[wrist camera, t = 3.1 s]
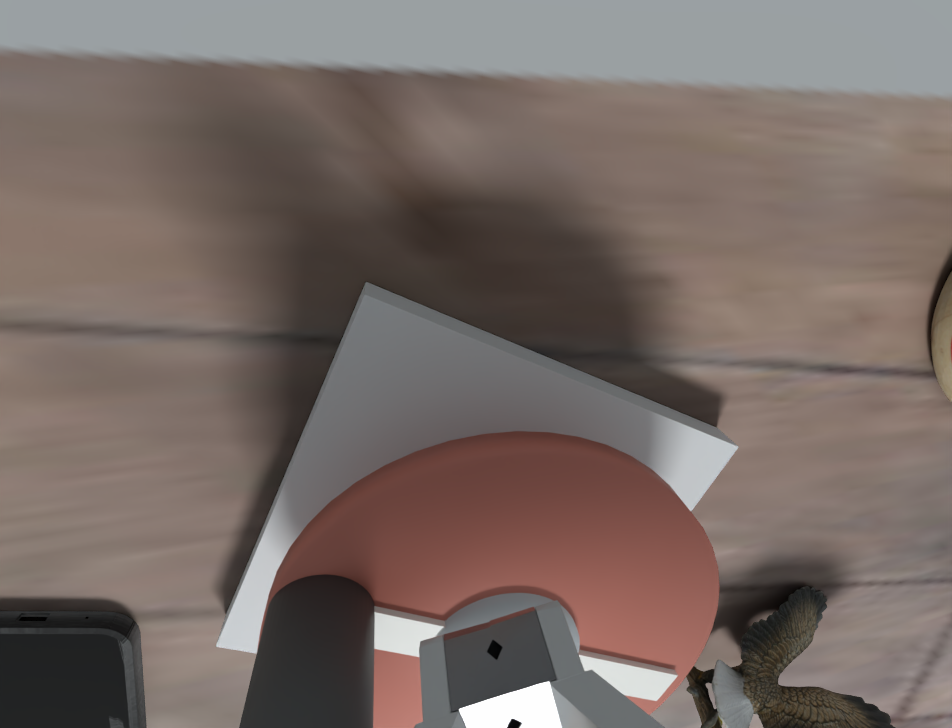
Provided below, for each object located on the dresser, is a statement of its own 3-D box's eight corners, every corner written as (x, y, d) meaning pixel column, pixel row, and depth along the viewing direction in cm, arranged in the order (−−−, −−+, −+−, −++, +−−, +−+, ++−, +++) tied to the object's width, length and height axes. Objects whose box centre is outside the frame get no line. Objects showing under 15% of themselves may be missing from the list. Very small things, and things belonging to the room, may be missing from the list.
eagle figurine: (704, 734, 30) (870, 701, 29) (737, 837, 23) (959, 801, 22) (657, 603, 31) (815, 563, 30) (675, 665, 24) (883, 617, 23)
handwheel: (777, 505, 18) (1002, 720, 12) (567, 768, 23) (643, 1031, 16) (372, 355, 14) (362, 571, 7) (207, 723, 18) (107, 1068, 12)
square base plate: (225, 615, 22) (191, 722, 18) (366, 281, 18) (361, 327, 14) (541, 675, 28) (568, 769, 23) (717, 427, 23) (790, 493, 19)
